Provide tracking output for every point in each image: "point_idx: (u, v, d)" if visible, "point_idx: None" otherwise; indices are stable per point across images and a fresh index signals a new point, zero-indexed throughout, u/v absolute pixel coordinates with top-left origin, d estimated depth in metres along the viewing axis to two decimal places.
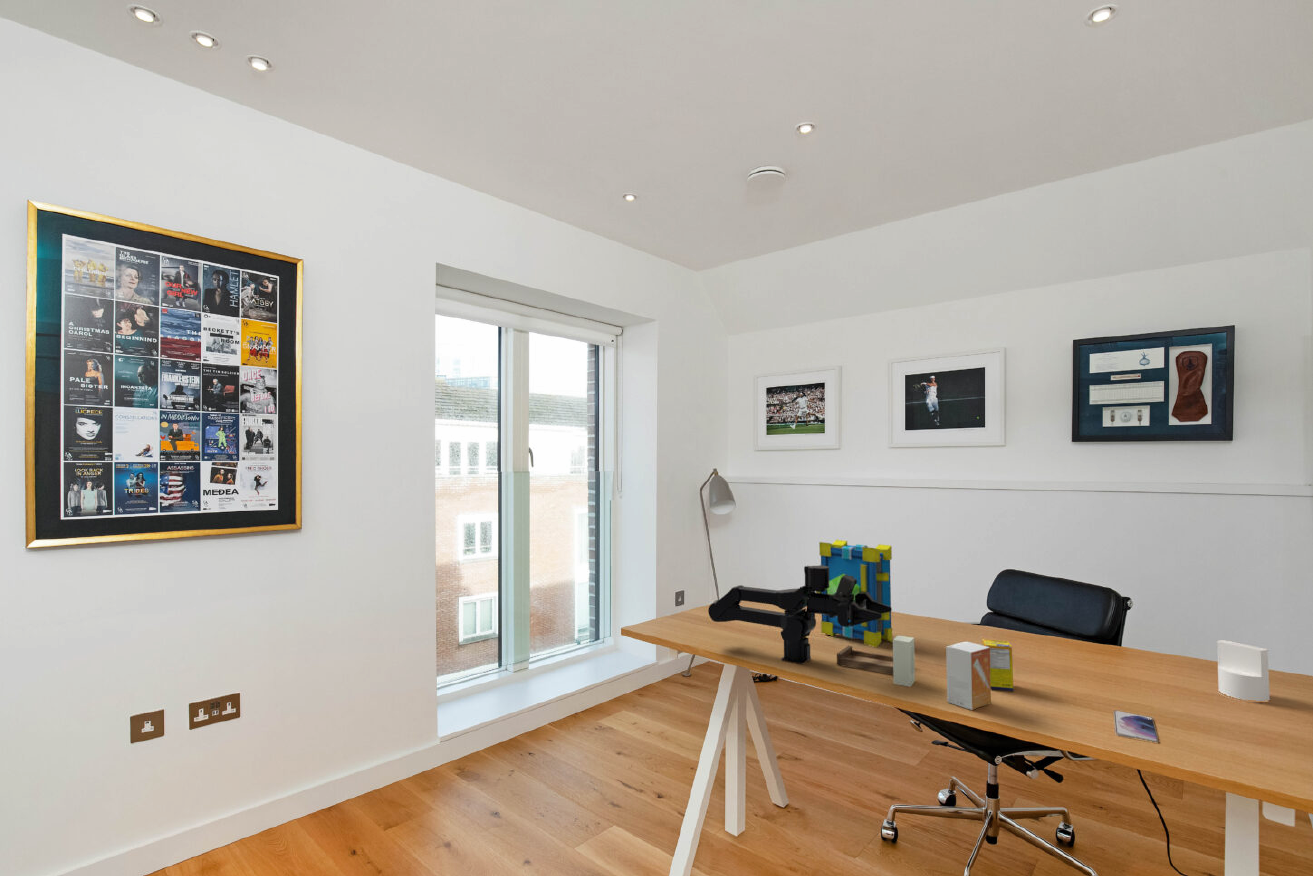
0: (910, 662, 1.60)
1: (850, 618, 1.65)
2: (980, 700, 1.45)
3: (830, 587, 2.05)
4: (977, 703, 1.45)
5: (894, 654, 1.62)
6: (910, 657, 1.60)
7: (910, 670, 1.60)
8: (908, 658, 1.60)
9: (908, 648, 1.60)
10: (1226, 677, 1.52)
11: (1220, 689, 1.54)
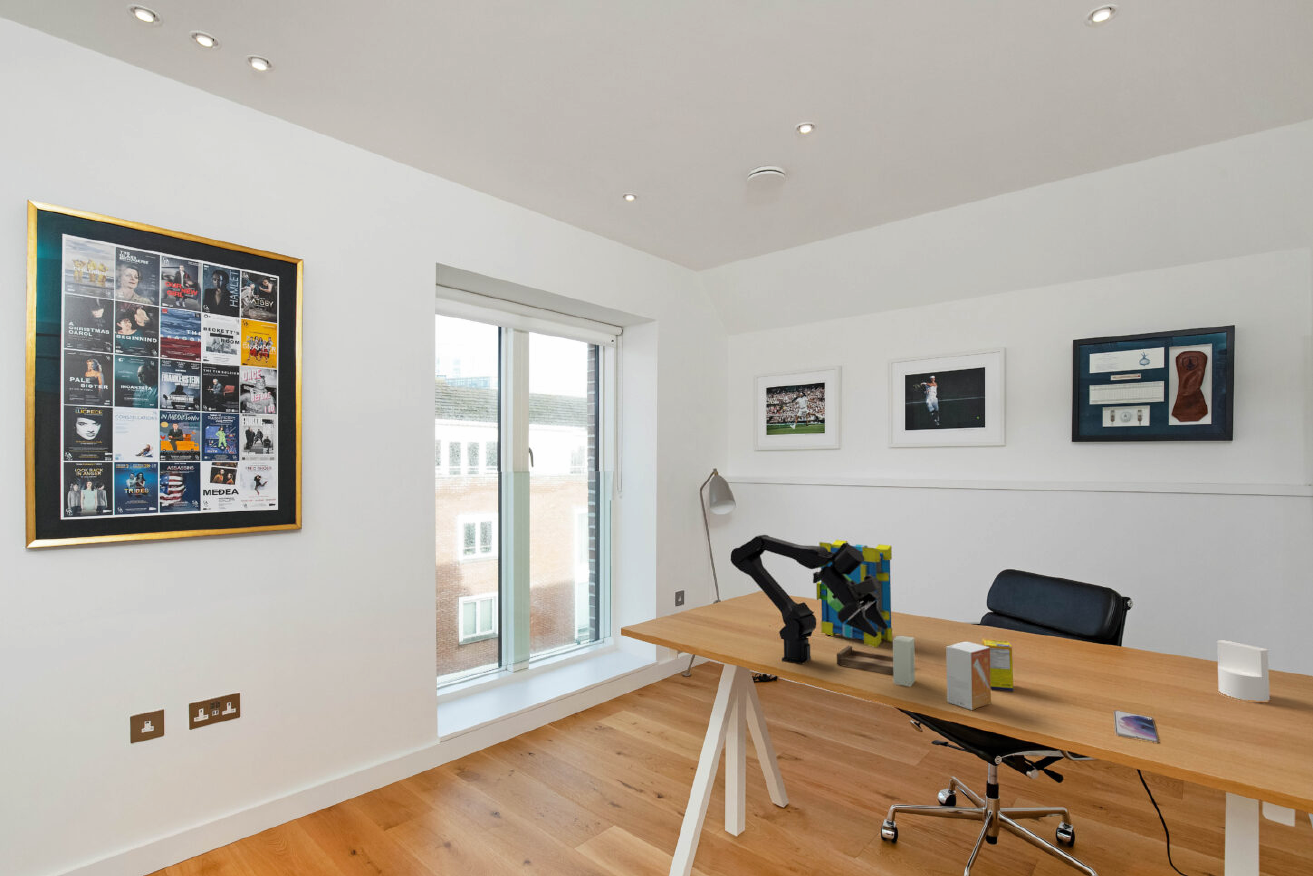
0: (910, 662, 1.60)
1: (850, 619, 1.63)
2: (980, 700, 1.45)
3: None
4: (977, 703, 1.45)
5: (894, 654, 1.62)
6: (910, 657, 1.60)
7: (910, 670, 1.60)
8: (908, 658, 1.60)
9: (908, 648, 1.60)
10: (1226, 677, 1.52)
11: (1220, 689, 1.54)
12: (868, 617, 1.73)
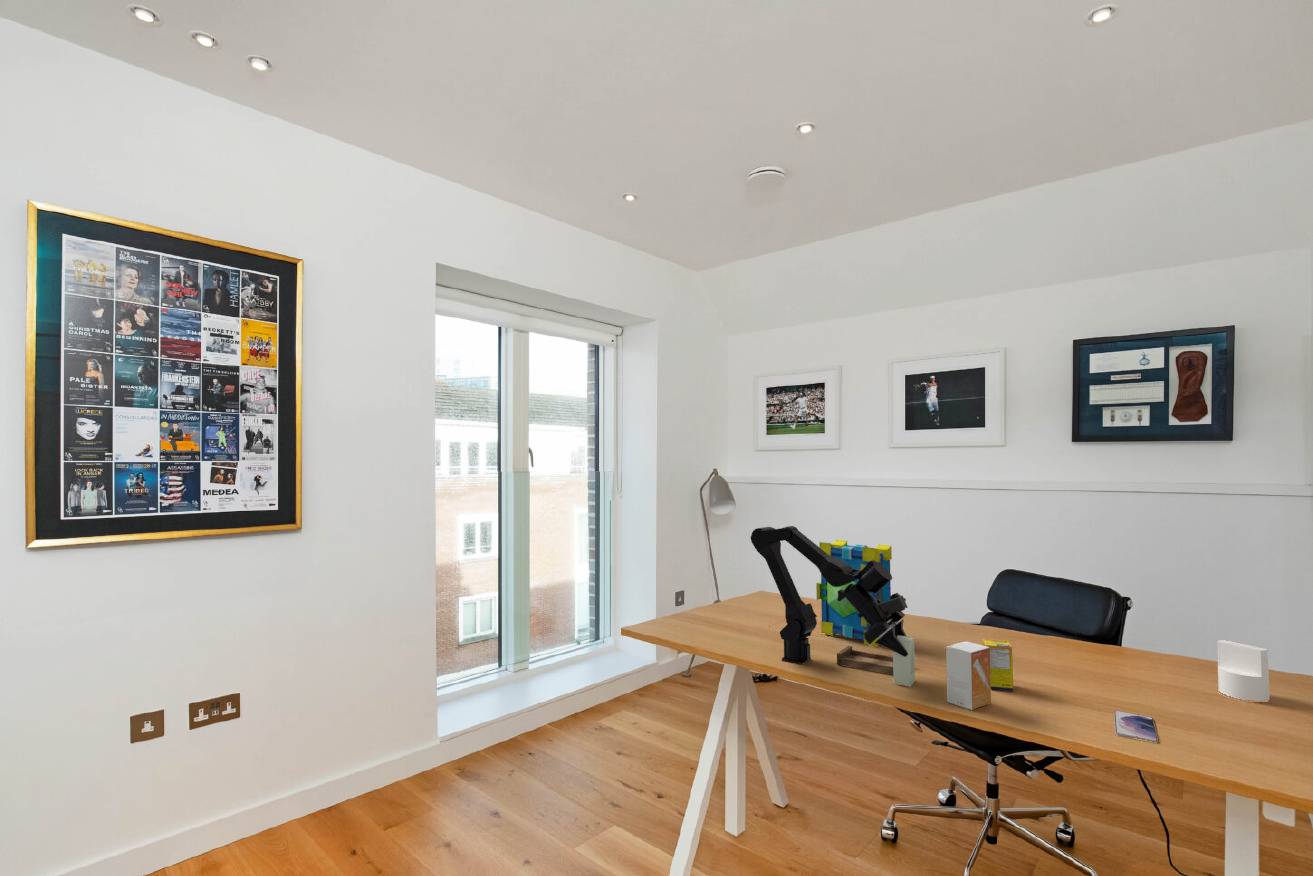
0: (910, 662, 1.60)
1: (880, 638, 1.60)
2: (980, 700, 1.45)
3: (830, 587, 2.05)
4: (977, 703, 1.45)
5: (894, 654, 1.62)
6: (910, 657, 1.60)
7: (910, 670, 1.60)
8: (908, 658, 1.60)
9: (908, 648, 1.60)
10: (1226, 677, 1.52)
11: (1220, 689, 1.54)
12: None
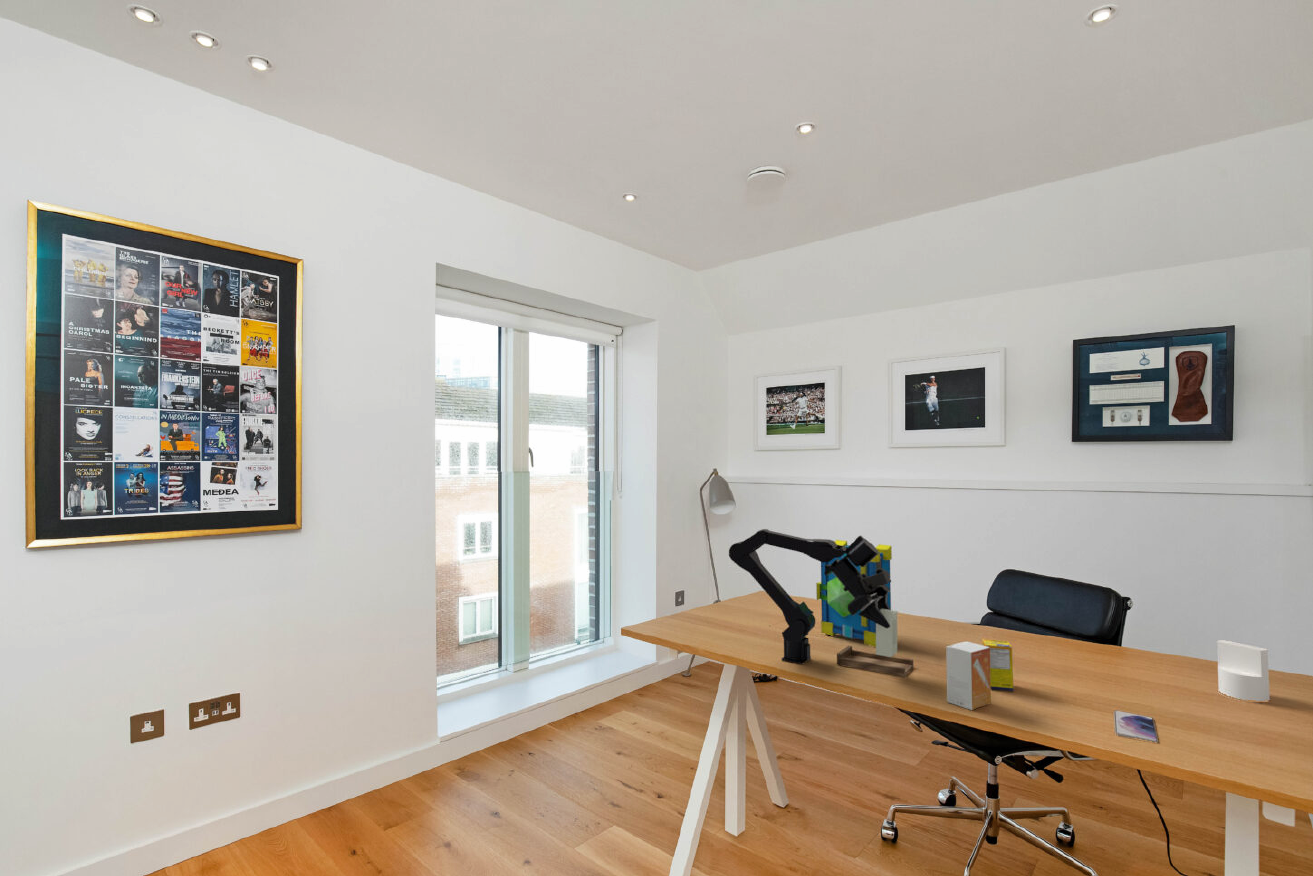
0: (892, 634, 1.66)
1: (863, 610, 1.66)
2: (980, 700, 1.45)
3: (830, 587, 2.05)
4: (977, 703, 1.45)
5: (877, 626, 1.68)
6: (892, 629, 1.66)
7: (892, 641, 1.66)
8: (890, 630, 1.66)
9: (890, 620, 1.66)
10: (1226, 677, 1.52)
11: (1220, 689, 1.54)
12: None
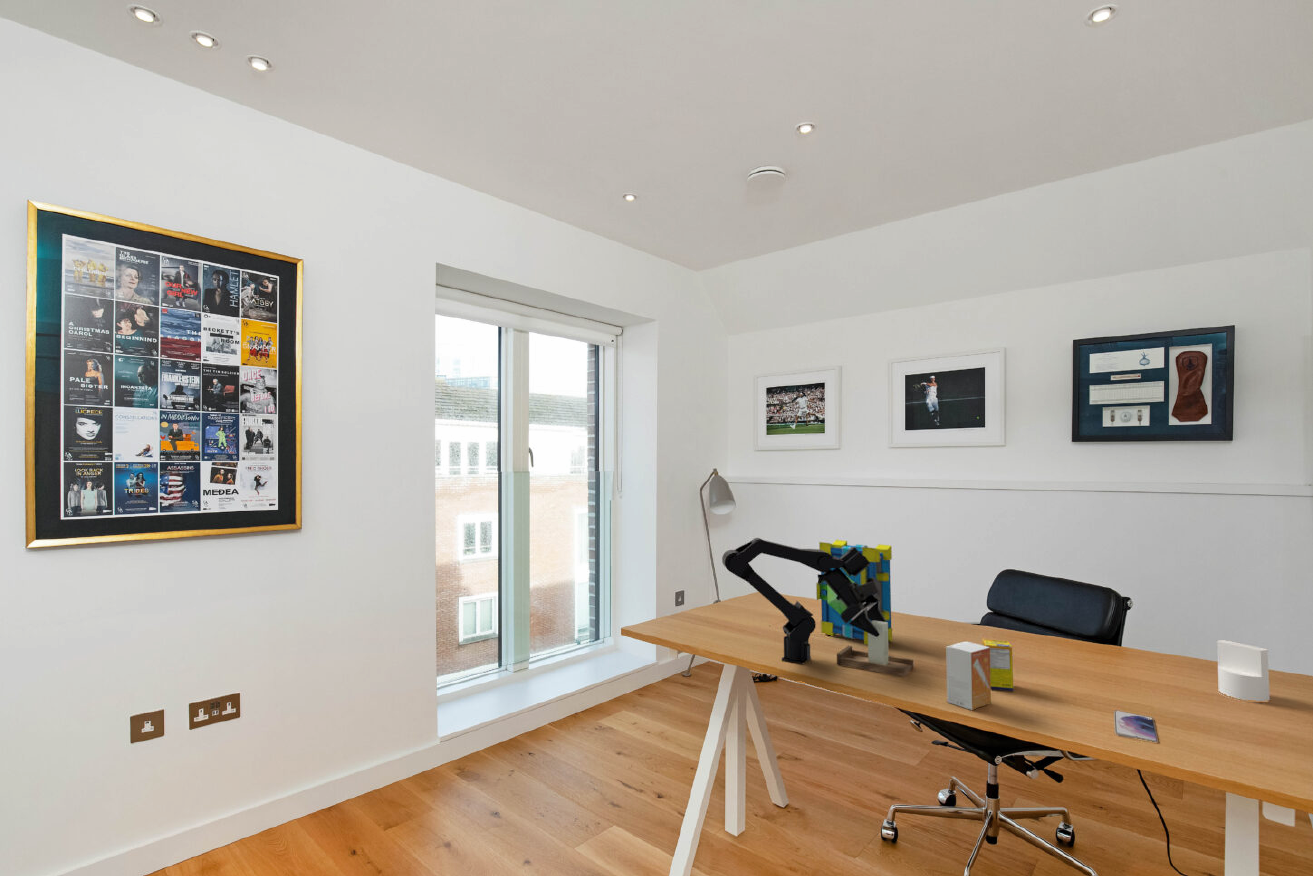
0: (883, 645, 1.73)
1: (853, 619, 1.71)
2: (980, 700, 1.45)
3: None
4: (977, 703, 1.45)
5: (869, 637, 1.74)
6: (884, 640, 1.73)
7: (883, 652, 1.72)
8: (882, 641, 1.72)
9: (882, 632, 1.72)
10: (1226, 677, 1.52)
11: (1220, 689, 1.54)
12: (870, 617, 1.81)
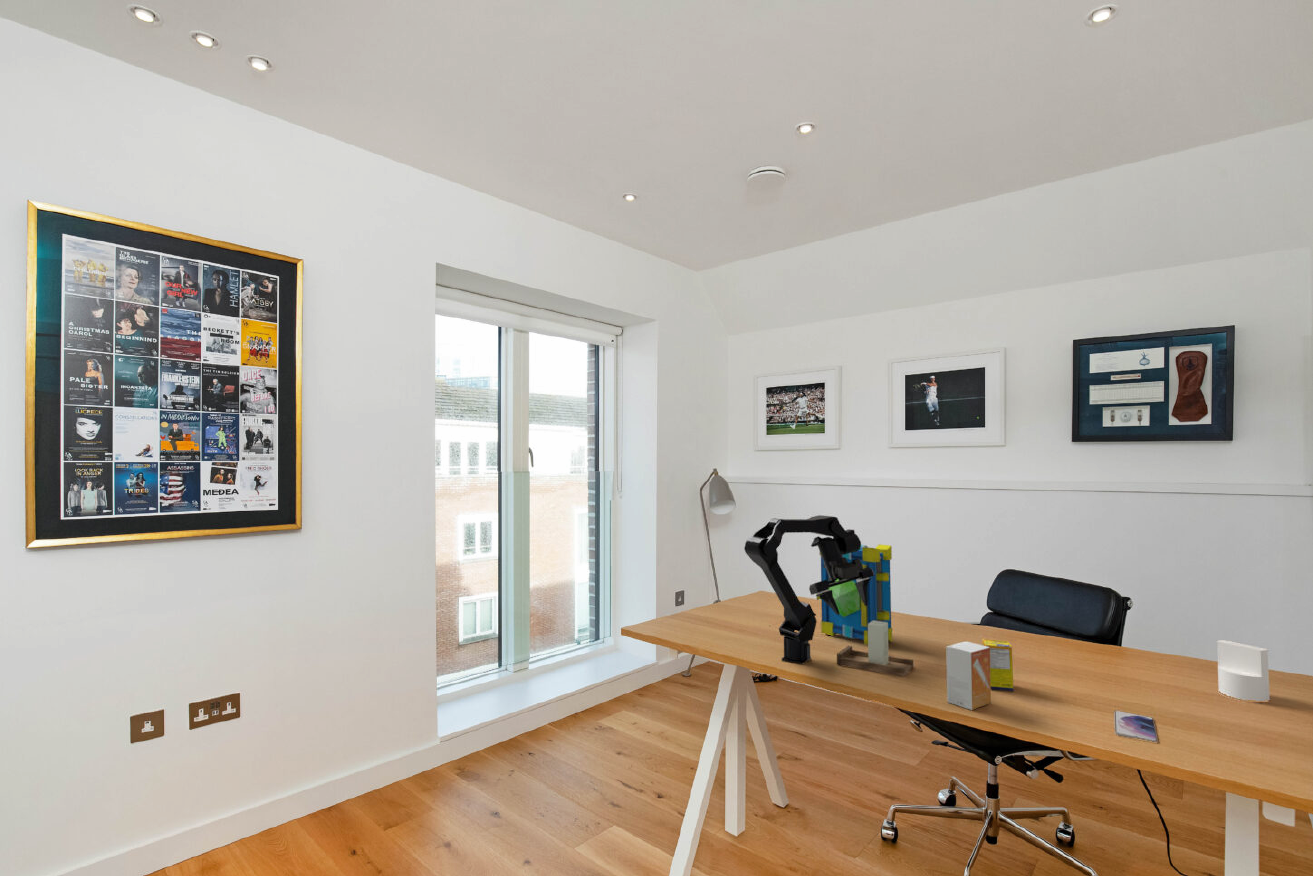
0: (883, 645, 1.73)
1: None
2: (980, 700, 1.45)
3: (830, 587, 2.05)
4: (977, 703, 1.45)
5: (869, 637, 1.74)
6: (884, 640, 1.73)
7: (883, 652, 1.72)
8: (882, 641, 1.72)
9: (882, 632, 1.72)
10: (1226, 677, 1.52)
11: (1220, 689, 1.54)
12: (857, 589, 1.87)
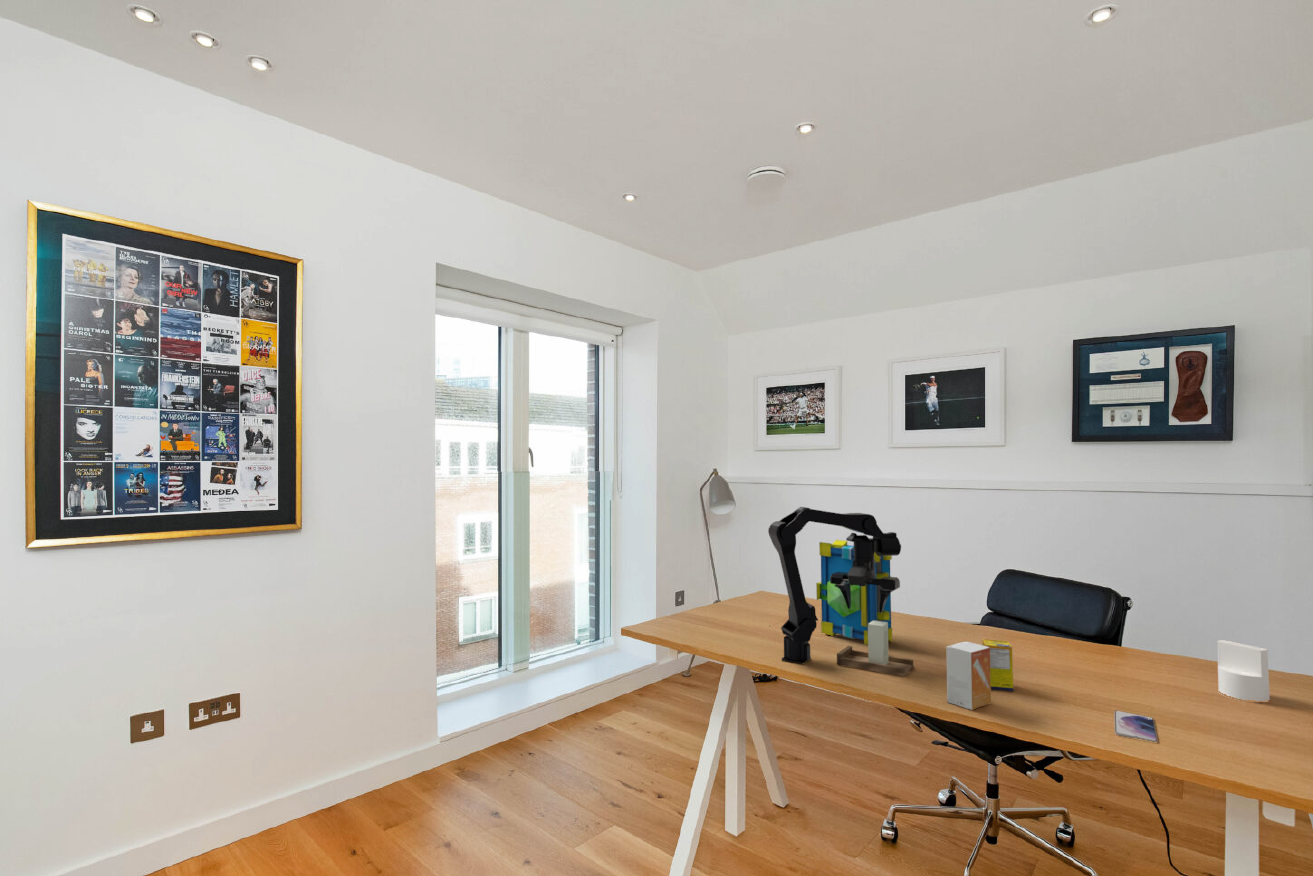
0: (883, 645, 1.73)
1: None
2: (980, 700, 1.45)
3: (830, 587, 2.05)
4: (977, 703, 1.45)
5: (869, 637, 1.74)
6: (884, 640, 1.73)
7: (883, 652, 1.72)
8: (882, 641, 1.72)
9: (882, 632, 1.72)
10: (1226, 677, 1.52)
11: (1220, 689, 1.54)
12: None
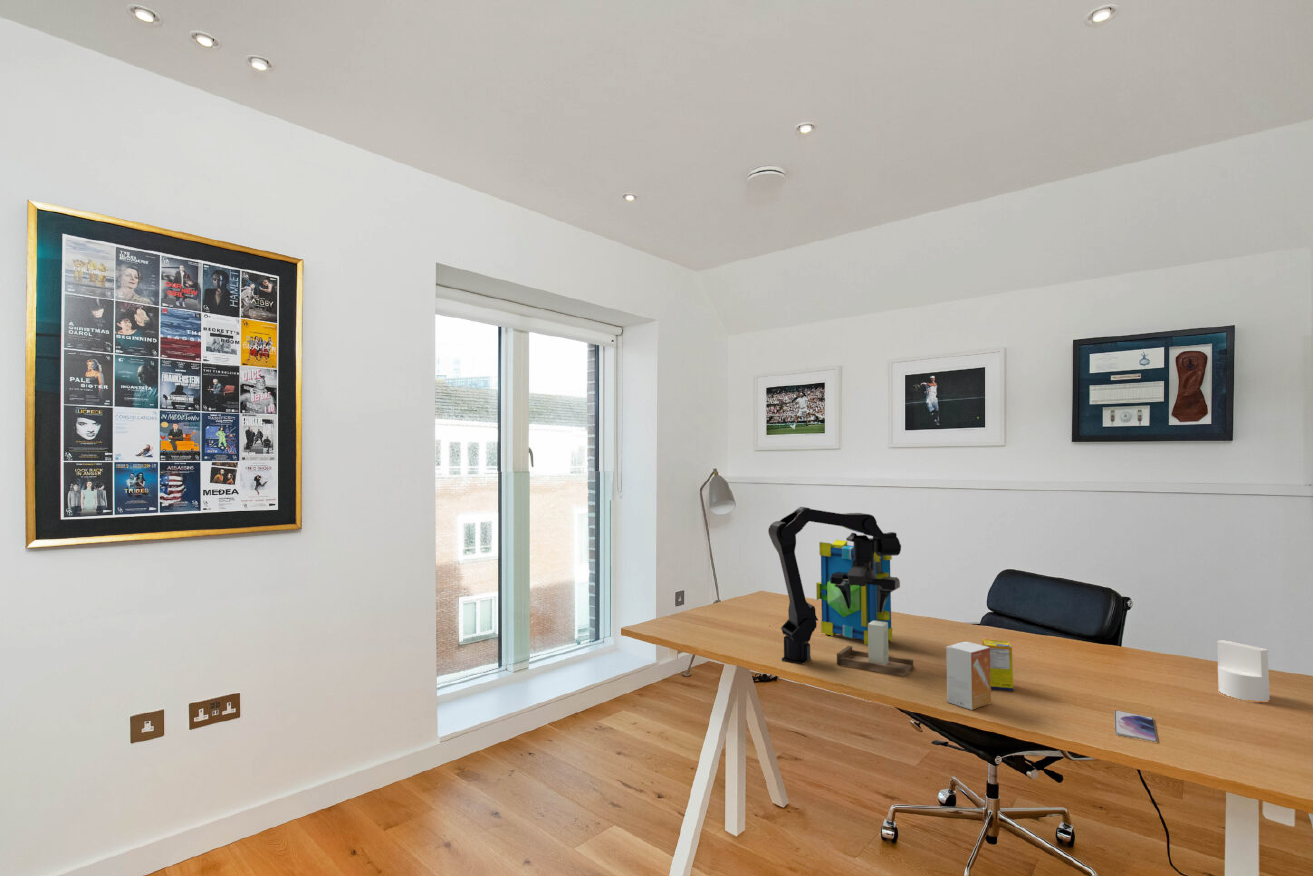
0: (883, 645, 1.73)
1: None
2: (980, 700, 1.45)
3: (830, 587, 2.05)
4: (977, 703, 1.45)
5: (869, 637, 1.74)
6: (884, 640, 1.73)
7: (883, 652, 1.72)
8: (882, 641, 1.72)
9: (882, 632, 1.72)
10: (1226, 677, 1.52)
11: (1220, 689, 1.54)
12: None
